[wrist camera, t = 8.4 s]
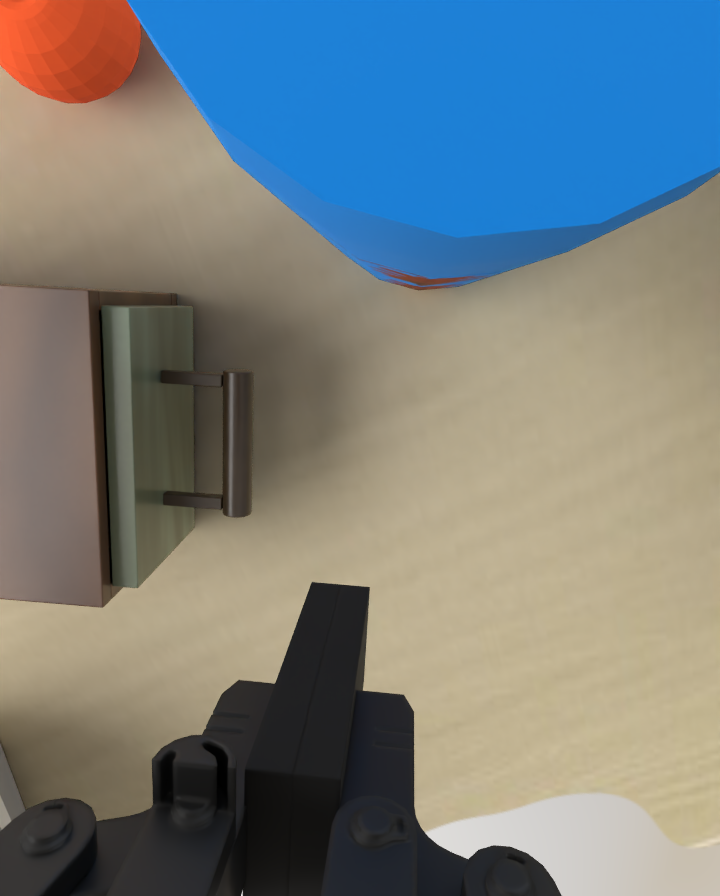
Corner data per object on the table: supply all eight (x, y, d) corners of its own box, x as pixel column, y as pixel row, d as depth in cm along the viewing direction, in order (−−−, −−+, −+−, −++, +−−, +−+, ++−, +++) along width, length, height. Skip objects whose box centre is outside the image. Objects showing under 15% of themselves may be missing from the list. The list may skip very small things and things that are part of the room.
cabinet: (177, 293, 33) (88, 289, 24) (179, 530, 36) (102, 608, 27) (-82, 278, 34) (-265, 269, 25) (-58, 511, 37) (-211, 581, 28)
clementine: (116, -84, 29) (28, -203, 22) (208, 43, 30) (151, -33, 23) (1, 33, 31) (-114, -45, 24) (92, 151, 32) (7, 109, 25)
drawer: (273, 311, 32) (234, 313, 25) (268, 533, 35) (231, 596, 28) (-53, 292, 33) (-188, 288, 26) (-32, 509, 36) (-147, 564, 28)
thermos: (518, 300, 32) (875, 289, 8) (315, 283, 33) (60, 221, 8) (551, 69, 30) (1227, -1004, 5) (330, 53, 30) (28, -989, 6)
